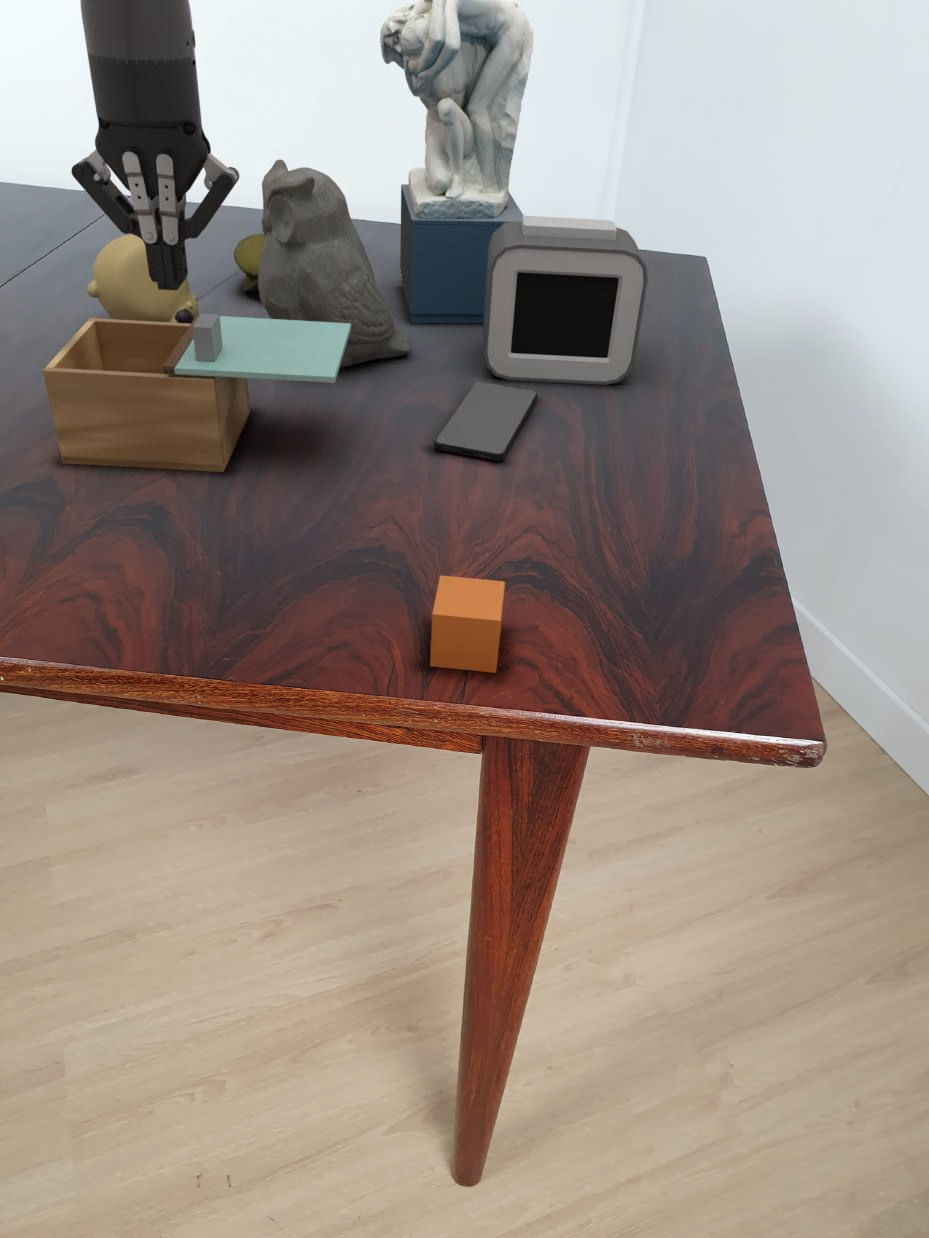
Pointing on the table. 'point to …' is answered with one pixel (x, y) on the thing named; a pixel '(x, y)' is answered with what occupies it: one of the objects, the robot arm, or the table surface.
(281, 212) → the figurine
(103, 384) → the maple box
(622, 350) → the alarm clock
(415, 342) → the table surface
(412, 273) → the sculpture
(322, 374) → the mint sliding box lid
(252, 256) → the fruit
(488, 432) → the smartphone
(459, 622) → the block
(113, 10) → the robot arm
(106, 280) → the toy pig
